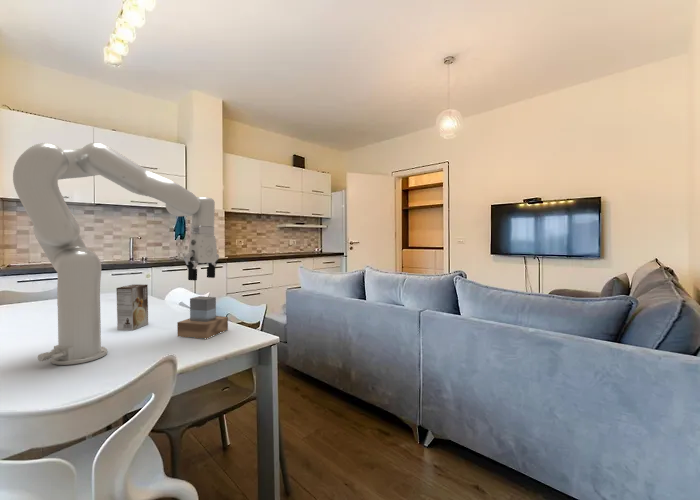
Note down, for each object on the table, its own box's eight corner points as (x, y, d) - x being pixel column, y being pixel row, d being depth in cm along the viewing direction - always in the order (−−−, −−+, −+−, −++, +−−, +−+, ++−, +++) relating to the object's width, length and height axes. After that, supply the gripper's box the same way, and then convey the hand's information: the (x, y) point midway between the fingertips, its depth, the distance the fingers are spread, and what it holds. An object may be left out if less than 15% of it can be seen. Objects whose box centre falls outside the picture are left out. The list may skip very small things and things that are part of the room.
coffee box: (133, 324, 134) (132, 284, 133) (148, 324, 133) (148, 284, 133) (116, 330, 124) (115, 287, 124) (133, 330, 124) (132, 287, 124)
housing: (206, 322, 118) (206, 299, 118) (190, 320, 120) (190, 298, 120) (215, 318, 123) (215, 297, 123) (199, 317, 125) (199, 296, 125)
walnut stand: (206, 339, 115) (206, 324, 115) (177, 336, 118) (177, 322, 118) (227, 330, 126) (227, 317, 126) (200, 327, 129) (200, 314, 129)
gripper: (194, 230, 111) (194, 282, 112) (226, 232, 128) (225, 277, 128) (176, 230, 113) (175, 280, 114) (209, 232, 130) (208, 276, 130)
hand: (202, 278), depth 121 cm, fingers open, 9 cm apart
